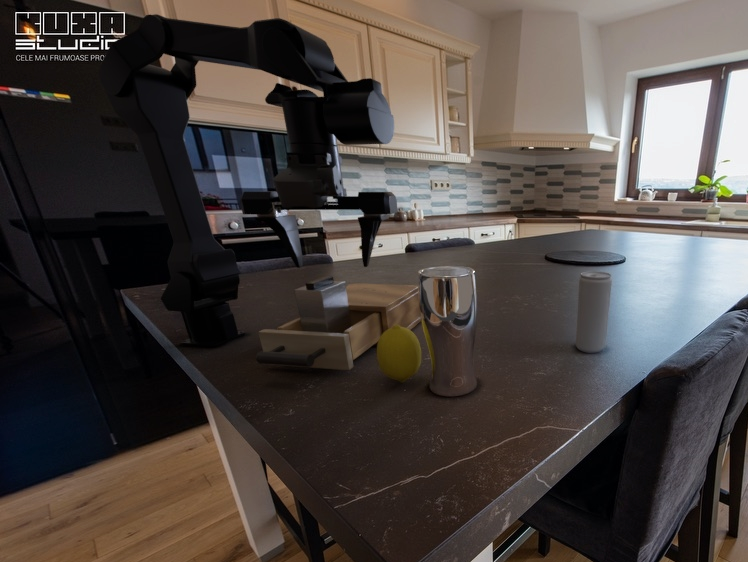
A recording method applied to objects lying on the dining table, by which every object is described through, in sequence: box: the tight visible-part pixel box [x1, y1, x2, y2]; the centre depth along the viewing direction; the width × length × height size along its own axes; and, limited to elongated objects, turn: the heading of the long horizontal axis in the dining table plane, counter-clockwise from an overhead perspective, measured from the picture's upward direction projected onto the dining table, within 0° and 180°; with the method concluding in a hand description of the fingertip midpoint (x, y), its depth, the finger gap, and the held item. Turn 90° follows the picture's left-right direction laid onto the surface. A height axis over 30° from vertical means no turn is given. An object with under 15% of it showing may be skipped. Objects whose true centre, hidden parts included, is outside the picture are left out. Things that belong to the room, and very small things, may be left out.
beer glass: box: [417, 265, 479, 398], centre depth 49 cm, size 7×7×15 cm
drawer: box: [255, 310, 384, 371], centre depth 58 cm, size 18×13×5 cm
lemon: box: [376, 325, 422, 383], centre depth 51 cm, size 6×6×8 cm
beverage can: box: [575, 270, 613, 354], centre depth 61 cm, size 5×5×12 cm
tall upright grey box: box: [294, 275, 352, 334], centre depth 58 cm, size 4×6×10 cm, turn 171°
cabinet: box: [345, 282, 421, 347], centre depth 71 cm, size 15×14×7 cm
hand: (333, 266), depth 56 cm, fingers open, 9 cm apart
